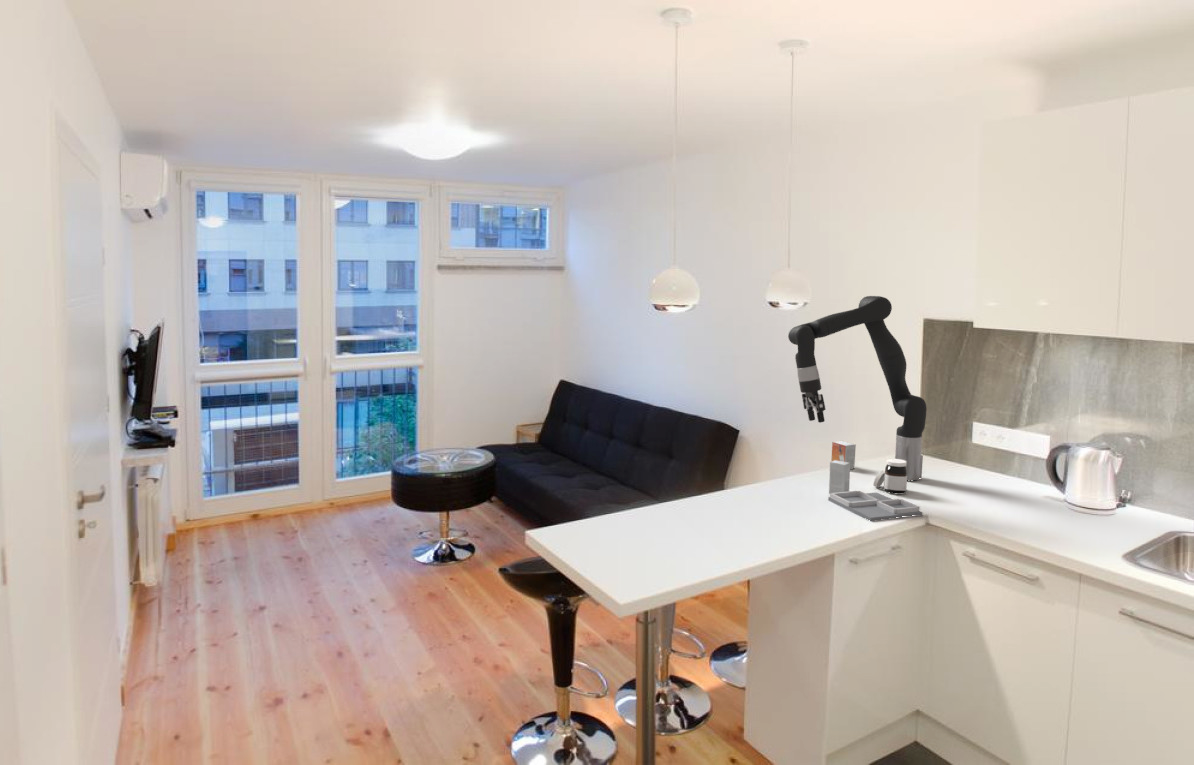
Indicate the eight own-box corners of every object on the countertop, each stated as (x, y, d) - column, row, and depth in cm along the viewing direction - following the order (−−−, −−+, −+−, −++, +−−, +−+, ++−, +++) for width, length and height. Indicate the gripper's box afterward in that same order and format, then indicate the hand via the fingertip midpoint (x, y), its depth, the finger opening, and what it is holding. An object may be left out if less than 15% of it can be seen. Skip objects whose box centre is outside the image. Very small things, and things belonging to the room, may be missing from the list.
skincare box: (849, 494, 269) (850, 462, 268) (843, 497, 266) (845, 464, 265) (833, 491, 274) (835, 459, 272) (828, 493, 271) (829, 461, 269)
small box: (830, 466, 310) (831, 441, 309) (841, 464, 313) (842, 440, 311) (844, 470, 303) (845, 445, 302) (854, 469, 305) (856, 444, 304)
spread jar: (907, 496, 267) (909, 464, 266) (874, 493, 271) (875, 462, 269) (904, 487, 279) (906, 457, 277) (872, 484, 282) (874, 455, 280)
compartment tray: (876, 495, 268) (876, 488, 268) (922, 515, 245) (922, 507, 245) (828, 500, 263) (828, 492, 262) (870, 521, 240) (870, 513, 239)
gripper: (826, 377, 267) (834, 420, 268) (810, 376, 282) (818, 417, 282) (807, 381, 267) (815, 425, 267) (792, 380, 281) (799, 421, 282)
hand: (816, 421), depth 275 cm, fingers open, 8 cm apart
